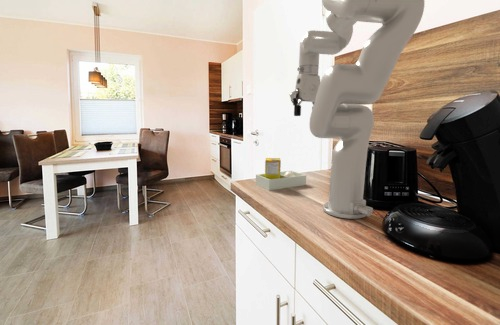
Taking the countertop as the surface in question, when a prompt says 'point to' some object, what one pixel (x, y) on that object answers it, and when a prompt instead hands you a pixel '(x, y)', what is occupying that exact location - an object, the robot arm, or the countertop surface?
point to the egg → (289, 174)
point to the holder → (281, 181)
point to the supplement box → (272, 168)
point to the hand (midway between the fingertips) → (306, 116)
